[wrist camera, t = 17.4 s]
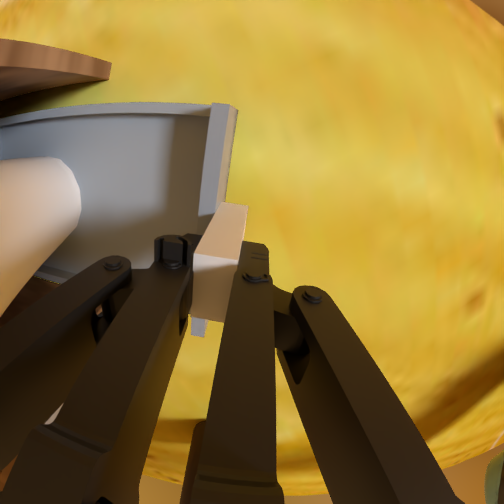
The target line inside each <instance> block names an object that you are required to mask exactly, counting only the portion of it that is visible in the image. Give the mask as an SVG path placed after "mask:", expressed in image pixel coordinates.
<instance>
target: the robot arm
mask: <svg viewBox="0 0 504 504" xmlns="http://www.w3.org/2000/svg"><path fill="white" fill-rule="evenodd" d="M247 212H248V206H246V205H239V204H233V203H226V202H221V203H220V205H219V207H218V209H217V211H216V213H215V214H214V216H213V218H212V220H211V222H210V224H209V225H208V227H207V229H206V231H205V233H204V235H197V234H190V233H187V234H185V235H183V236H180V235H163V236H159V237H157V238H156V239H154V262H153V263H152V265H151V266H150V267H149V268H146V269H132V267H131V262H130V260H129V259H127V258H126V257H122V256H119V255H116V256H115V255H111V256H108V257H104V258H102V259H100V260H98V261H97V262H95V263H94V264H92V265H90V266H89V267H87V268H86V269H84V270H82V271H81V272H79V273H78V274H76V275H75V276H73V277H72V278H70V279H69V280H67V281H66V282H64V283H63V284H61V285H60V286H58V287H57V288H55V289H54V290H52V291H51V292H49V293H48V294H46V295H45V296H43V297H42V298H40V299H39V300H38V301H36V302H35V303H33V304H32V305H31V306H29V307H28V308H26V309H25V310H24V311H22V312H21V313H19V314H18V315H17V316H15V317H14V318H13V319H11V320H10V321H9V322H7V323H6V324H5V325H3V326H2V327H1V328H0V471H1V470H3V469H4V468H5V467H6V466H7V465H8V464H9V463H10V462H11V461H12V460H13V459H14V458H15V457H16V456H17V455H18V456H17V458H16V460H15V462H14V465H13V467H12V469H11V471H10V474H9V476H8V478H7V481H6V483H5V486H4V488H3V491H1V492H0V504H139V483H140V479H141V475H142V471H143V468H144V464H145V460H146V457H147V453H148V450H149V446H150V443H151V439H152V436H153V432H154V429H155V426H156V422H157V419H158V416H159V412H160V409H161V406H162V403H163V399H164V396H165V393H166V390H167V387H168V383H169V380H170V377H171V374H172V371H173V368H174V365H175V362H176V359H177V356H178V353H179V350H180V347H181V344H182V341H183V338H184V335H185V332H186V329H187V326H188V314H189V311H190V308H191V316H190V317H195V318H200V319H206V320H212V321H218V322H224V328H223V333H222V338H221V343H220V349H219V354H218V359H217V364H216V370H215V375H214V380H213V386H212V391H211V397H210V402H209V408H208V413H207V419H206V424H205V430H204V435H203V441H202V447H201V452H200V458H199V464H198V469H197V474H196V477H195V480H194V484H193V489H192V494H191V500H190V504H284V494H283V490H282V487H281V486H280V485H279V483H278V482H277V475H276V382H275V348H277V355H278V358H279V361H280V364H281V366H282V369H283V372H284V375H285V377H286V380H287V383H288V385H289V388H290V391H291V394H292V396H293V399H294V402H295V404H296V407H297V410H298V413H299V415H300V418H301V421H302V423H303V426H304V429H305V431H306V434H307V437H308V439H309V442H310V445H311V447H312V450H313V453H314V455H315V458H316V460H317V463H318V466H319V468H320V471H321V474H322V476H323V479H324V481H325V484H326V487H327V489H328V492H329V494H330V497H331V499H332V502H333V504H465V503H464V502H463V501H461V500H460V499H459V498H458V497H457V496H455V494H454V492H453V490H452V488H451V487H450V484H449V483H448V481H447V479H446V477H445V476H444V474H443V472H442V470H441V468H440V467H439V465H438V463H437V461H436V460H435V458H434V456H433V454H432V453H431V451H430V449H429V448H428V446H427V444H426V443H425V441H424V439H423V438H422V436H421V434H420V433H419V431H418V429H417V428H416V426H415V424H414V423H413V421H412V419H411V418H410V416H409V415H408V413H407V411H406V410H405V408H404V407H403V405H402V403H401V402H400V400H399V399H398V397H397V395H396V394H395V392H394V391H393V389H392V388H391V386H390V384H389V383H388V381H387V380H386V378H385V377H384V375H383V374H382V372H381V371H380V369H379V368H378V366H377V365H376V363H375V361H374V360H373V358H372V357H371V355H370V354H369V352H368V351H367V349H366V348H365V346H364V345H363V343H362V342H361V341H360V339H359V338H358V336H357V335H356V333H355V332H354V330H353V329H352V327H351V326H350V324H349V323H348V321H347V320H346V319H345V317H344V316H343V314H342V313H341V311H340V310H339V308H338V307H337V306H336V304H335V303H334V301H333V300H332V298H331V297H330V296H329V295H328V294H327V293H326V292H325V291H323V290H321V289H320V288H318V287H315V286H306V285H305V286H299V287H297V288H295V289H294V291H293V293H289V292H286V291H284V290H281V289H279V288H277V287H276V286H275V285H273V280H272V277H271V276H270V275H269V250H268V248H267V247H266V246H265V245H264V244H260V243H254V242H247V241H243V237H244V231H245V225H246V218H247ZM99 305H101V307H102V312H101V313H100V314H98V315H97V314H96V310H95V309H96V308H97V307H98V306H99ZM62 404H63V405H62ZM61 405H62V407H61V409H60V411H59V413H58V415H57V416H56V418H55V420H54V421H53V422H52V423H50V424H45V423H46V422H47V421H48V419H49V418H50V417H51V416H52V415H53V414H54V413H55V412H56V411H57V409H58V408H59V407H60V406H61ZM484 487H485V499H486V504H504V450H503V451H501V452H500V453H499V454H498V455H496V456H495V457H494V458H493V459H492V460H491V461H490V463H489V465H488V467H487V470H486V474H485V486H484Z"/></svg>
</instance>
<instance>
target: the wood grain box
mask: <svg viewBox="0 0 504 504" xmlns="http://www.w3.org/2000/svg"><path fill="white" fill-rule="evenodd" d="M111 64H112V63H111V62H107V61H104V60H101V59H97V58H94V57H90V56H87V55H83V54H80V53H76V52H72V51H68V50H63V49H59V48H55V47H50V46H45V45H40V44H35V43H29V42H23V41H16V40H9V39H0V101H1V100H5V99H8V98H11V97H15V96H19V95H22V94H26V93H30V92H34V91H39V90H43V89H48V88H53V87H58V86H64V85H70V84H76V83H83V82H90V81H99V80H109V75H110V69H111ZM58 286H60V285H59V284H56V283H52V282H49V281H46V280H42V279H39V278H36V277H33V276H32V277H31V278H30V279H29V280H28V282H27V283H26V284H25V285H24V287H23V288H22V289H21V290H20V292H19V293H18V294H17V295H16V297H15V298H14V299H13V301H12V302H11V303H10V305H9V306H8V307H7V309H6V310H5V311H4V313H3V314H2V316H1V317H0V328H1V327H2V326H3V325H5V324H6V323H7V322H9V321H10V320H11V319H13V318H14V317H15V316H17V315H18V314H19V313H21V312H22V311H24V310H25V309H26V308H28V307H29V306H31V305H32V304H33V303H35V302H36V301H38V300H39V299H40V298H42V297H43V296H45V295H46V294H48V293H49V292H51V291H52V290H54V289H55V288H57V287H58ZM95 310H96V314H97V315H98V314H100V313H101V312H102V307H101V305H99V306H98V307H97V308H96V309H95ZM17 456H18V455H17ZM17 456H16V457H15V458H14V459H13V460H12V461H11V462H10V463H9V464H8V465H7V466H6V467H5V468H4V469H3V470H1V471H0V492H1V491H3V488H4V486H5V483H6V481H7V478H8V476H9V474H10V471H11V469H12V467H13V465H14V462H15V460H16V458H17Z"/></svg>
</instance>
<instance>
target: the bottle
mask: <svg viewBox="0 0 504 504" xmlns="http://www.w3.org/2000/svg"><path fill="white" fill-rule="evenodd" d="M205 424H206V421H204V422H201V423H199V424H197V425H196V427H195V428H194V431H193V436H192V441H191V446H190V451H189V456H188V461H187V466H186V472H185V477H184V482H183V487H182V493H181V498H180V504H190V500H191V494H192V489H193V484H194V480H195V477H196V474H197V469H198V464H199V458H200V452H201V447H202V441H203V435H204V430H205Z"/></svg>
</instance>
